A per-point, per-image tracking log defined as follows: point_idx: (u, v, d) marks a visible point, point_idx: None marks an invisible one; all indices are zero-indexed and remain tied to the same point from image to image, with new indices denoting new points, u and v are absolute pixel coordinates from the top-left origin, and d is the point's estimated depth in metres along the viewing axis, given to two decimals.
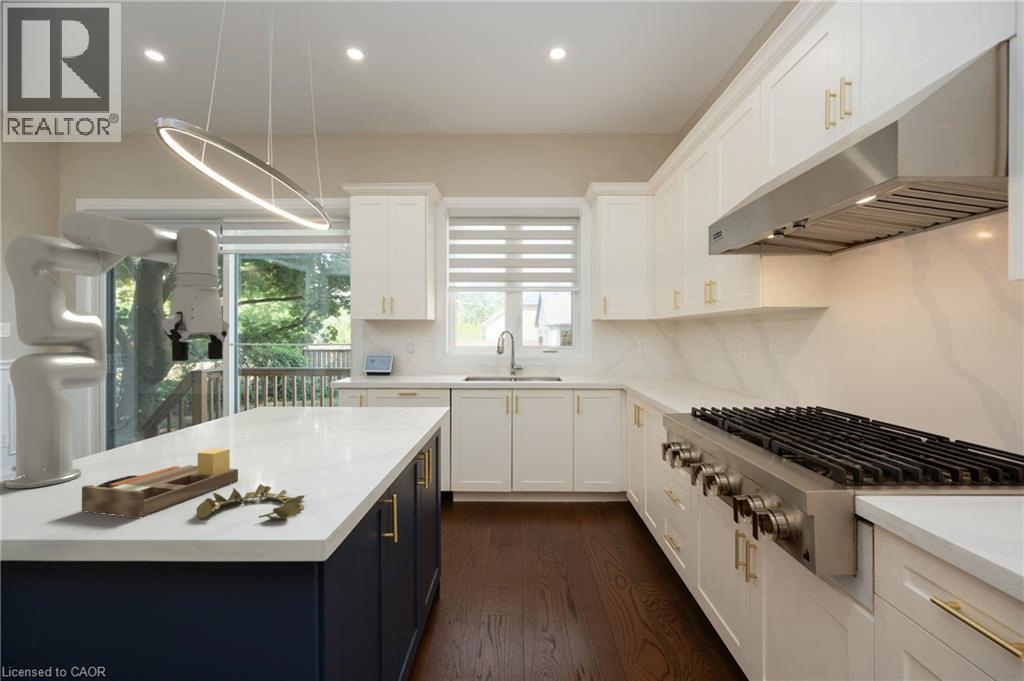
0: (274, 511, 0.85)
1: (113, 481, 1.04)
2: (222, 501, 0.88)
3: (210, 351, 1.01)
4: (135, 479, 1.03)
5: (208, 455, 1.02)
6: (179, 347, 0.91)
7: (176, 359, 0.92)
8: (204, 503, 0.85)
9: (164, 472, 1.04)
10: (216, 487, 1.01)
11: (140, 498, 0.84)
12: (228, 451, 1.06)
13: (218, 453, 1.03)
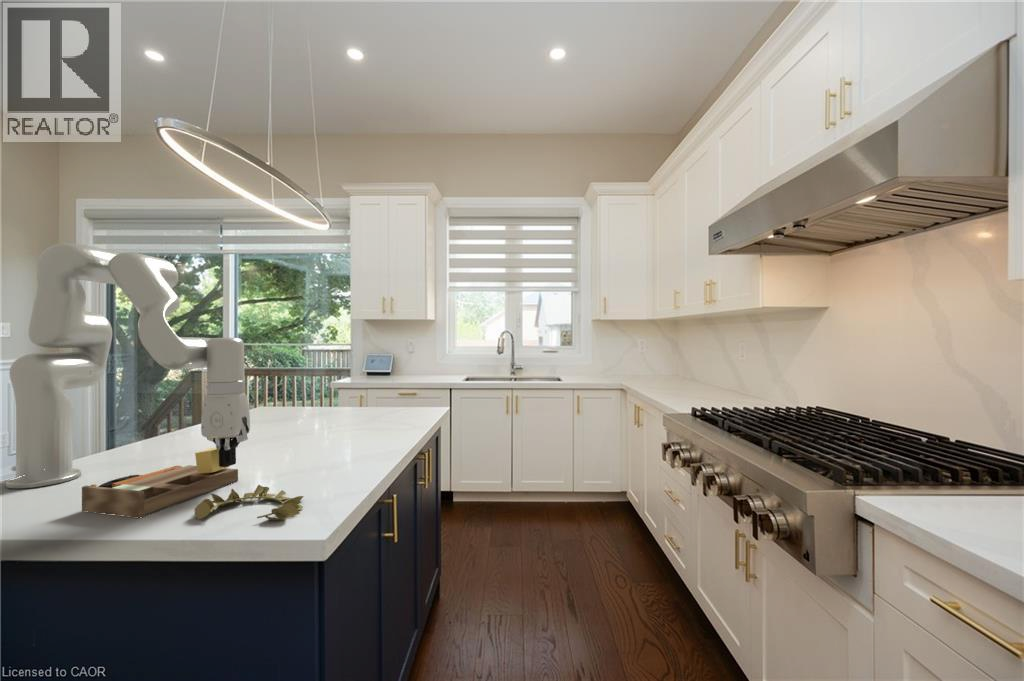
0: (272, 512, 0.84)
1: (116, 480, 1.05)
2: (220, 502, 0.88)
3: None
4: (138, 478, 1.03)
5: (206, 453, 1.02)
6: (235, 453, 1.04)
7: (227, 465, 1.03)
8: (202, 504, 0.84)
9: (164, 472, 1.04)
10: (216, 487, 1.01)
11: (140, 498, 0.84)
12: None
13: (215, 450, 1.03)
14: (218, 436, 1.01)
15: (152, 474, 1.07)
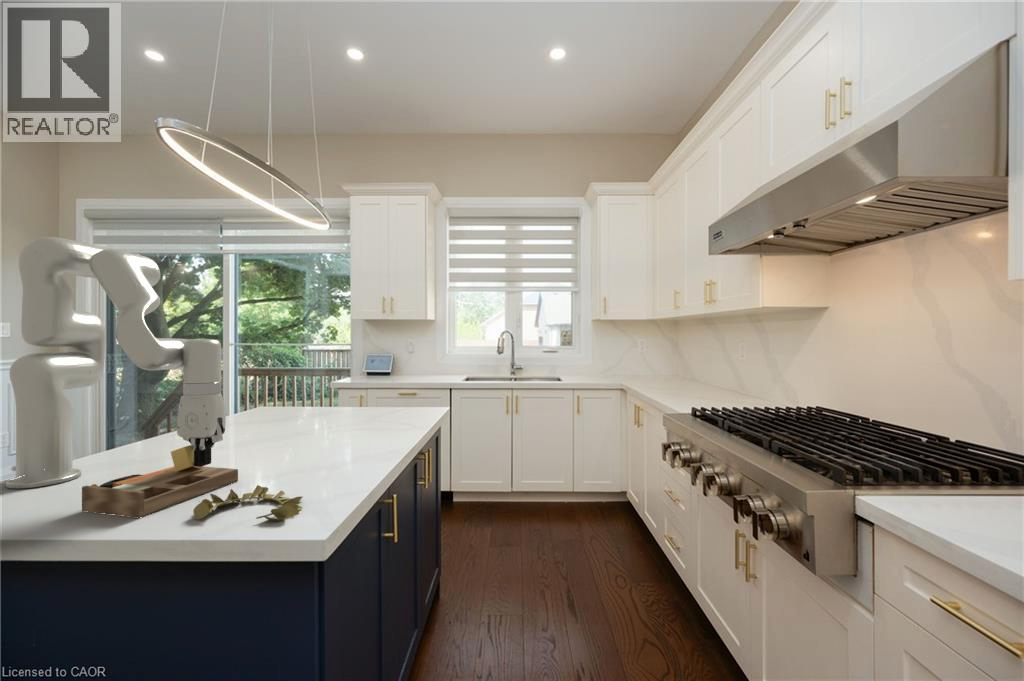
0: (272, 512, 0.84)
1: (117, 480, 1.05)
2: (219, 502, 0.88)
3: None
4: (139, 478, 1.04)
5: (181, 450, 1.04)
6: (210, 453, 1.05)
7: (202, 464, 1.04)
8: (201, 504, 0.84)
9: (164, 472, 1.04)
10: (216, 487, 1.01)
11: (140, 498, 0.84)
12: None
13: (190, 446, 1.05)
14: (193, 436, 1.02)
15: (153, 474, 1.07)
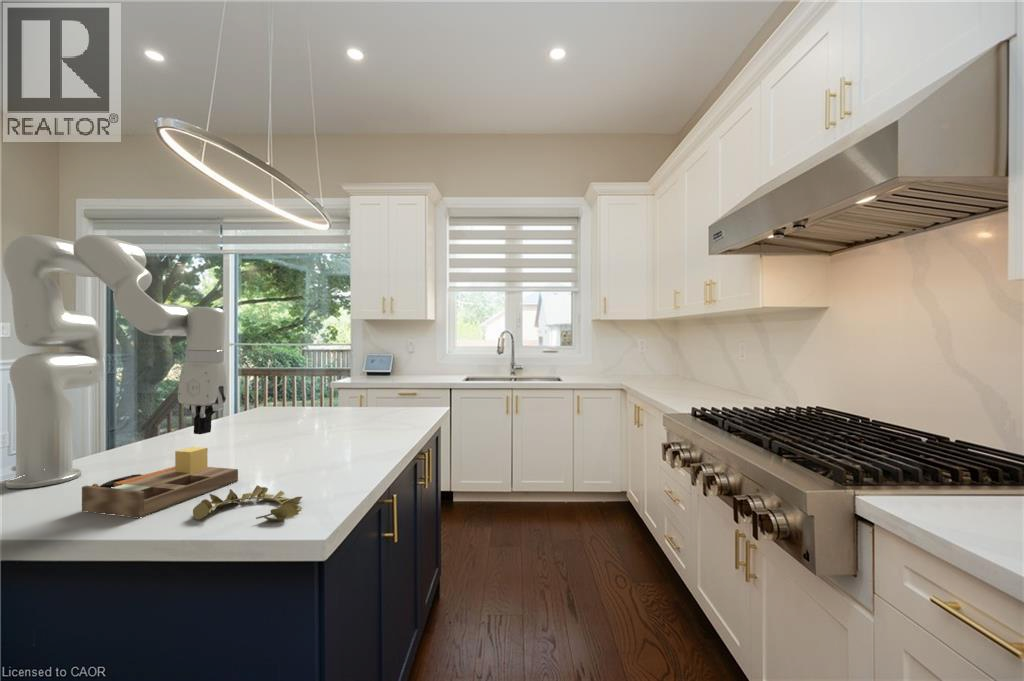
0: (271, 512, 0.84)
1: (118, 480, 1.05)
2: (219, 502, 0.88)
3: None
4: (139, 478, 1.04)
5: (186, 453, 1.03)
6: (210, 421, 1.05)
7: (202, 432, 1.04)
8: (200, 504, 0.84)
9: (164, 472, 1.04)
10: (216, 487, 1.01)
11: (140, 498, 0.84)
12: (206, 449, 1.07)
13: (195, 451, 1.05)
14: (194, 403, 1.02)
15: (154, 474, 1.07)
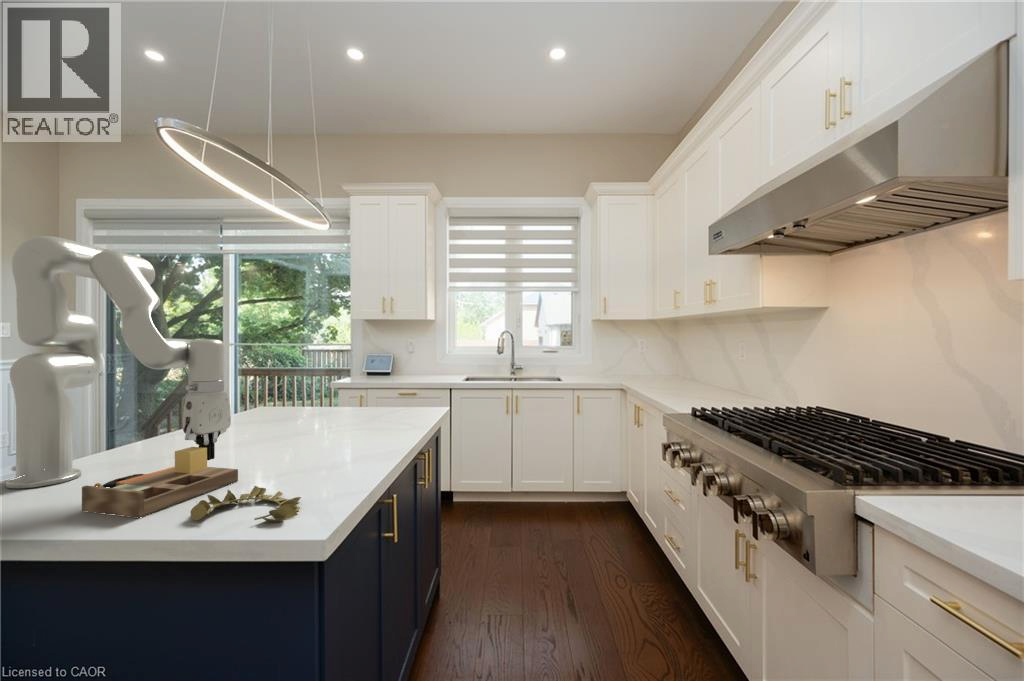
0: (270, 513, 0.84)
1: (120, 479, 1.06)
2: (217, 503, 0.87)
3: None
4: (141, 477, 1.04)
5: (185, 454, 1.03)
6: None
7: None
8: (198, 505, 0.84)
9: (164, 472, 1.04)
10: (216, 487, 1.01)
11: (140, 498, 0.84)
12: (205, 449, 1.07)
13: (195, 451, 1.04)
14: (217, 429, 1.10)
15: (156, 473, 1.07)
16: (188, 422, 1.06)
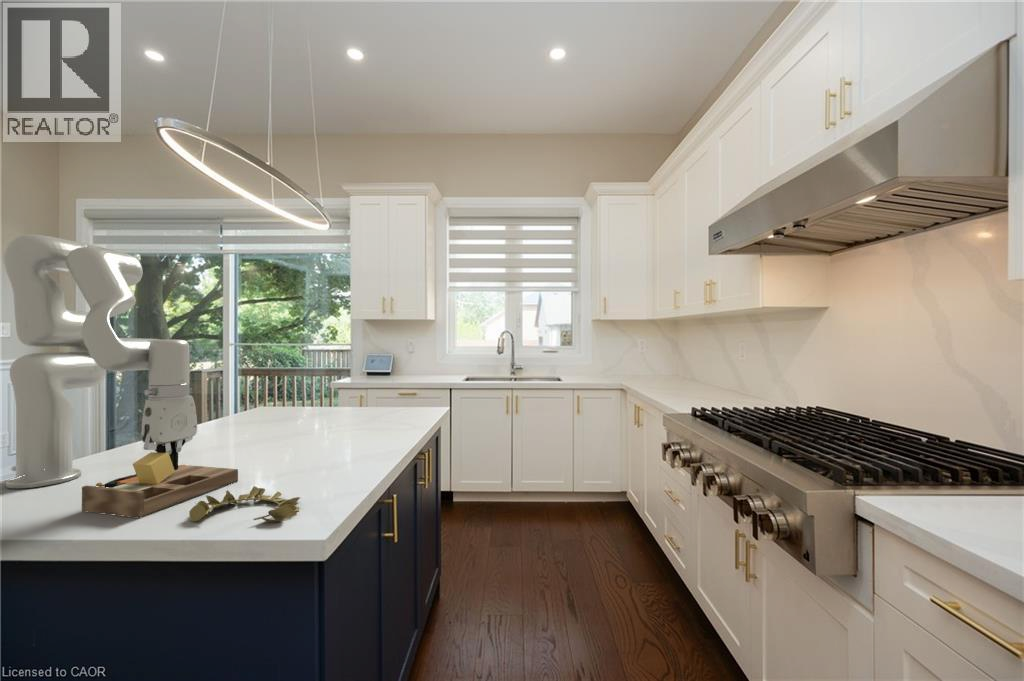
0: (269, 513, 0.83)
1: (121, 479, 1.06)
2: (215, 504, 0.87)
3: None
4: None
5: (146, 466, 0.94)
6: None
7: None
8: (197, 506, 0.83)
9: None
10: (216, 487, 1.01)
11: (140, 498, 0.84)
12: (167, 455, 0.98)
13: (156, 461, 0.95)
14: (180, 438, 1.01)
15: None
16: (147, 430, 0.97)
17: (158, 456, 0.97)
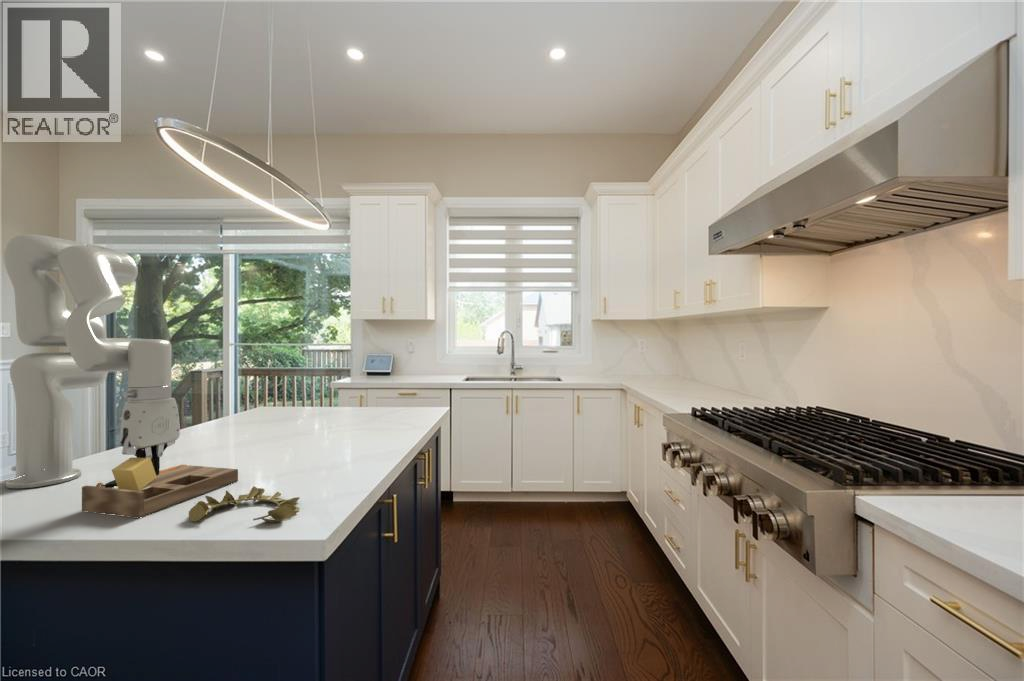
0: (269, 513, 0.83)
1: None
2: (215, 504, 0.87)
3: None
4: None
5: (127, 472, 0.90)
6: None
7: None
8: (197, 506, 0.83)
9: (164, 472, 1.04)
10: (216, 487, 1.01)
11: (140, 498, 0.84)
12: (149, 460, 0.94)
13: (138, 467, 0.91)
14: (161, 442, 0.97)
15: None
16: (126, 434, 0.93)
17: (139, 461, 0.92)
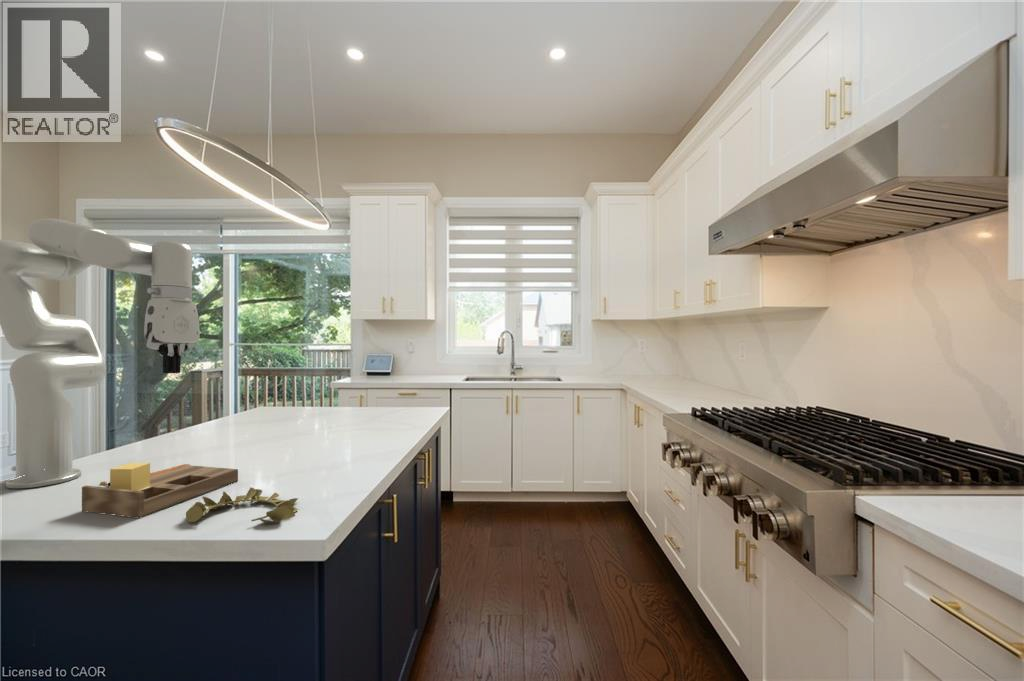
0: (267, 514, 0.83)
1: None
2: (212, 505, 0.86)
3: None
4: None
5: (125, 471, 0.89)
6: None
7: None
8: (194, 507, 0.83)
9: (164, 472, 1.04)
10: (216, 487, 1.01)
11: (140, 498, 0.84)
12: (148, 465, 0.94)
13: (137, 468, 0.91)
14: (183, 341, 1.01)
15: (160, 472, 1.08)
16: (150, 329, 0.97)
17: (139, 465, 0.93)
